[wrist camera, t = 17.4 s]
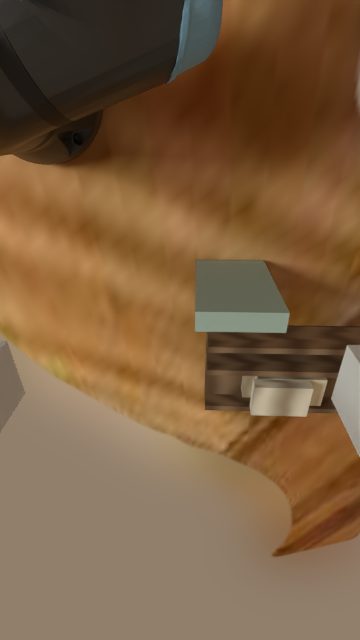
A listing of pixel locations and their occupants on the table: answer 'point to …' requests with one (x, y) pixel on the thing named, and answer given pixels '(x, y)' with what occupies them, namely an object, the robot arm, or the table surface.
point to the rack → (273, 361)
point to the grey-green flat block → (238, 298)
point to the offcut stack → (283, 394)
